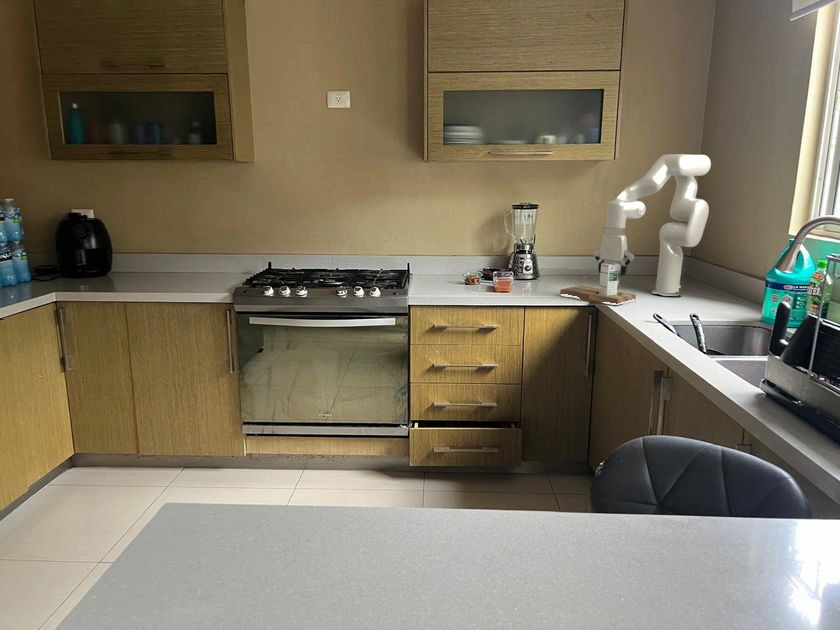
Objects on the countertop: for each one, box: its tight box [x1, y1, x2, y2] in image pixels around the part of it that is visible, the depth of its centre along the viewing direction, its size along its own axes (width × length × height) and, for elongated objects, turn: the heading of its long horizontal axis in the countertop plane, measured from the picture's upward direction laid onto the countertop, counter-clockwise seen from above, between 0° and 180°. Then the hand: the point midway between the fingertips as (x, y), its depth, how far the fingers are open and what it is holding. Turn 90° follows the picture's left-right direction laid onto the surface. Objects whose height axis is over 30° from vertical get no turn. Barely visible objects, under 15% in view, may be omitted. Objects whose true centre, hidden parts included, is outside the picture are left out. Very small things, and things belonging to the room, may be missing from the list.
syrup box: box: [598, 262, 622, 297], centre depth 253 cm, size 6×6×14 cm
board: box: [559, 284, 637, 305], centre depth 258 cm, size 16×26×3 cm, turn 45°
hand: (612, 273), depth 253 cm, fingers open, 9 cm apart
